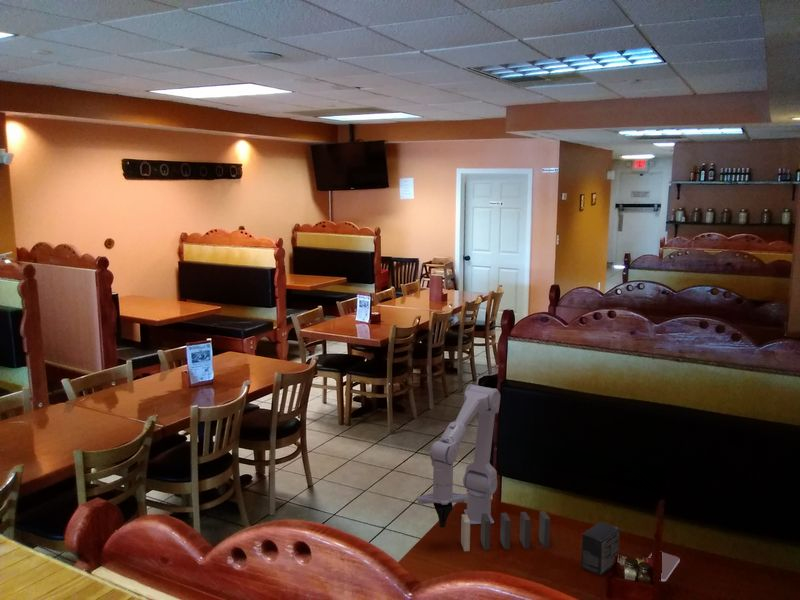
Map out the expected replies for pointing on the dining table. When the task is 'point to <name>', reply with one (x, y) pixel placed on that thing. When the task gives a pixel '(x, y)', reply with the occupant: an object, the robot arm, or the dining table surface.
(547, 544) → the grey domino
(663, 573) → the mobile phone
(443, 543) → the dining table surface
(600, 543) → the small box
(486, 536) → the grey domino
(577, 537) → the dining table surface
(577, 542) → the dining table surface
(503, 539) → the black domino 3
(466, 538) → the ivory domino
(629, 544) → the dining table surface
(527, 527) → the grey domino
